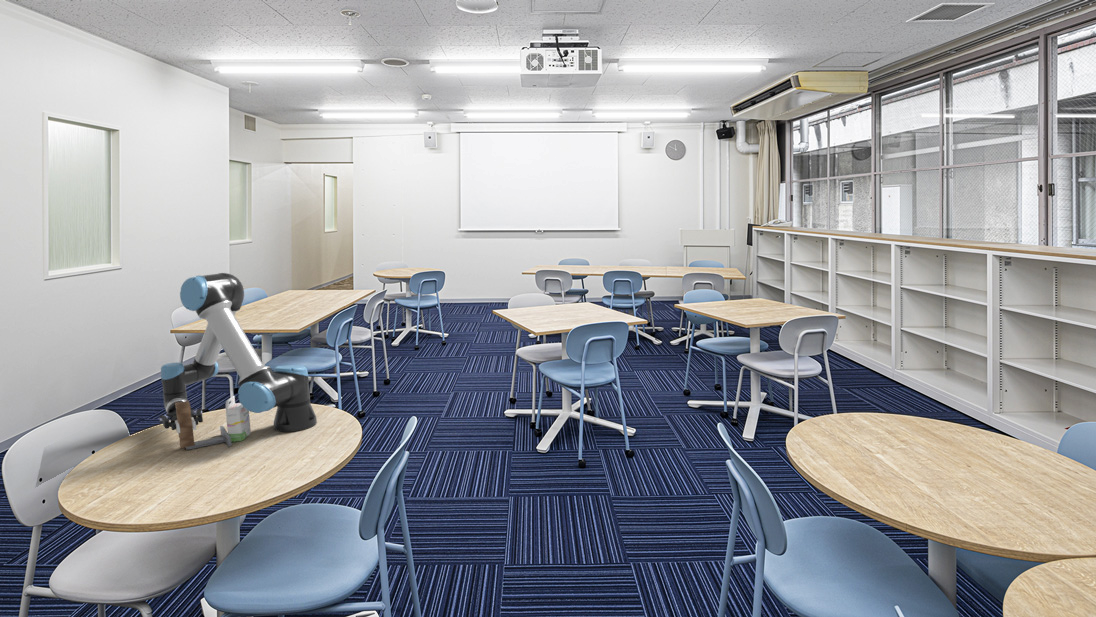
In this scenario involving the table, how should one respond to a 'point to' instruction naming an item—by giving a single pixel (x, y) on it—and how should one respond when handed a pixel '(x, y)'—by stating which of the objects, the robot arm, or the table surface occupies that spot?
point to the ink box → (237, 420)
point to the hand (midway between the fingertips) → (186, 427)
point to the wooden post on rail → (187, 429)
